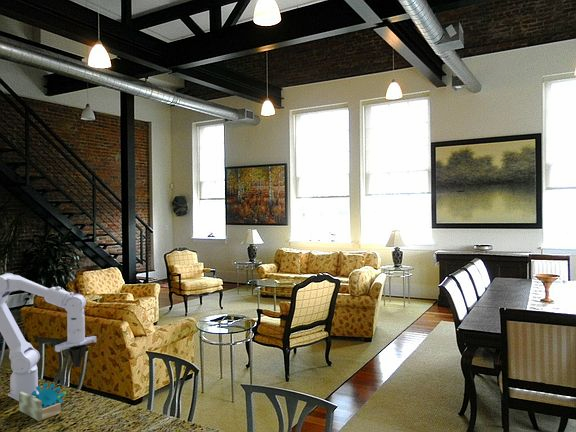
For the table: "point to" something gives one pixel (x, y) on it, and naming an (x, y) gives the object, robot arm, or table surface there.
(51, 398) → the gear
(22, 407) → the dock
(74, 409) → the table surface
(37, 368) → the robot arm
